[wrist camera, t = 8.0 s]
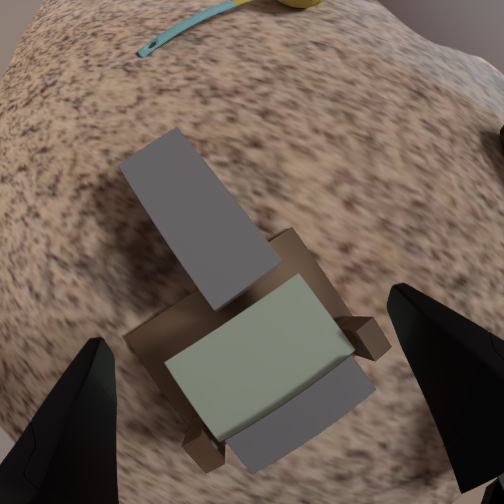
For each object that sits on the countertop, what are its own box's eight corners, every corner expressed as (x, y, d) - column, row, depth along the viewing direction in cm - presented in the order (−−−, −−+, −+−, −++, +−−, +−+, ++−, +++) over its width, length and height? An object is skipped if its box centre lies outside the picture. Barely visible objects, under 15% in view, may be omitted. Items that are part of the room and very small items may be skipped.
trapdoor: (246, 467, 16) (245, 477, 14) (170, 362, 18) (161, 362, 17) (372, 382, 17) (382, 384, 16) (296, 278, 20) (299, 270, 18)
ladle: (343, 8, 29) (349, -20, 23) (171, 98, 31) (153, 73, 25) (302, -21, 30) (303, -48, 24) (142, 59, 31) (124, 35, 26)
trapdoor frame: (210, 450, 20) (206, 485, 14) (127, 336, 21) (97, 342, 15) (368, 342, 22) (403, 350, 17) (291, 228, 23) (308, 204, 18)
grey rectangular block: (282, 260, 18) (176, 126, 20) (214, 310, 17) (118, 165, 19) (274, 270, 22) (185, 154, 24) (218, 312, 21) (134, 188, 23)
